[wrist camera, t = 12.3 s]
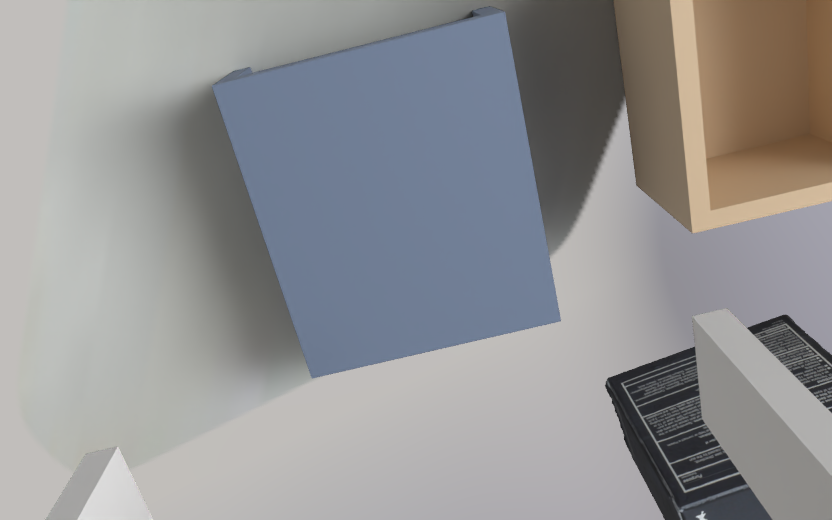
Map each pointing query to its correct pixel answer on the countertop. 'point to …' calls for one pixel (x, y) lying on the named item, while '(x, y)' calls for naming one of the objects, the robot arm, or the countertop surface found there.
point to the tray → (728, 105)
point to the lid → (396, 193)
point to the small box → (702, 426)
